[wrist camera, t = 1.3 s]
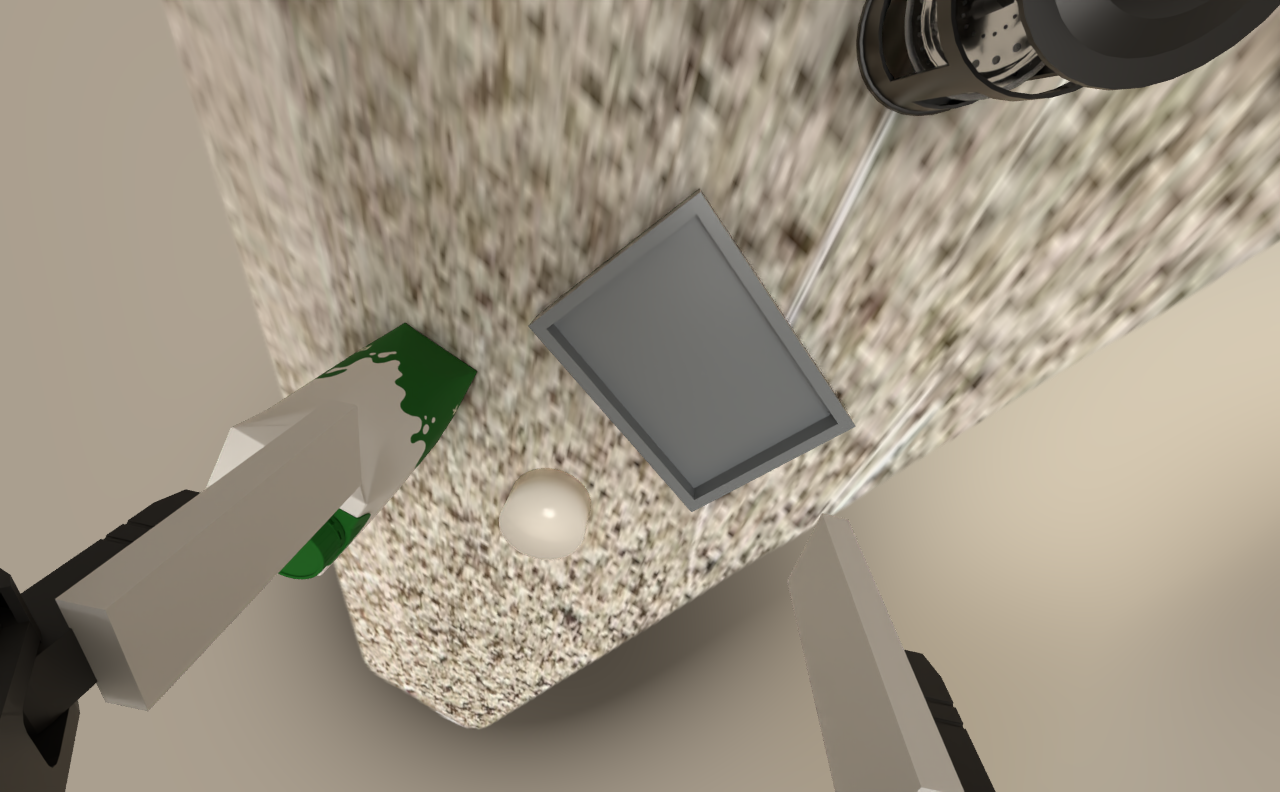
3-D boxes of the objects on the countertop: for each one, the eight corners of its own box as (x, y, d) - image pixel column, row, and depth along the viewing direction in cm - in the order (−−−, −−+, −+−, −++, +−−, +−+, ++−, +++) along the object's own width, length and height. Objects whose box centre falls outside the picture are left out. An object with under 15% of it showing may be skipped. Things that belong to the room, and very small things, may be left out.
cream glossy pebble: (496, 491, 50) (481, 518, 46) (554, 453, 47) (543, 479, 44) (549, 542, 52) (539, 571, 49) (607, 509, 50) (601, 537, 46)
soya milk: (446, 435, 47) (301, 615, 29) (358, 379, 45) (145, 536, 27) (491, 369, 43) (357, 529, 26) (398, 306, 41) (182, 432, 24)
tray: (536, 315, 41) (528, 326, 38) (699, 188, 35) (700, 191, 33) (691, 494, 48) (691, 512, 46) (846, 411, 42) (855, 426, 40)
